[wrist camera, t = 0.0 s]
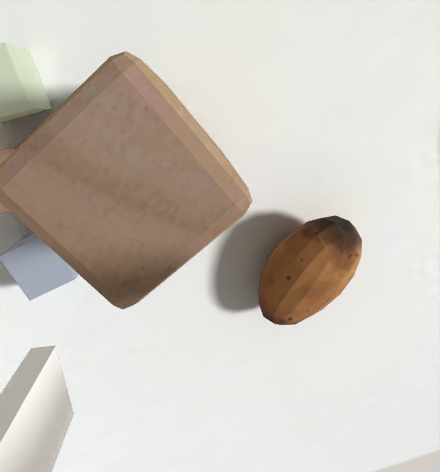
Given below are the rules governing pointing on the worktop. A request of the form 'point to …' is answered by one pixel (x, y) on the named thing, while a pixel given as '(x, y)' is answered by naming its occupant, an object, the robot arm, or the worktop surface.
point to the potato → (309, 270)
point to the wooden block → (123, 182)
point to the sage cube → (20, 84)
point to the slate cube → (36, 267)
